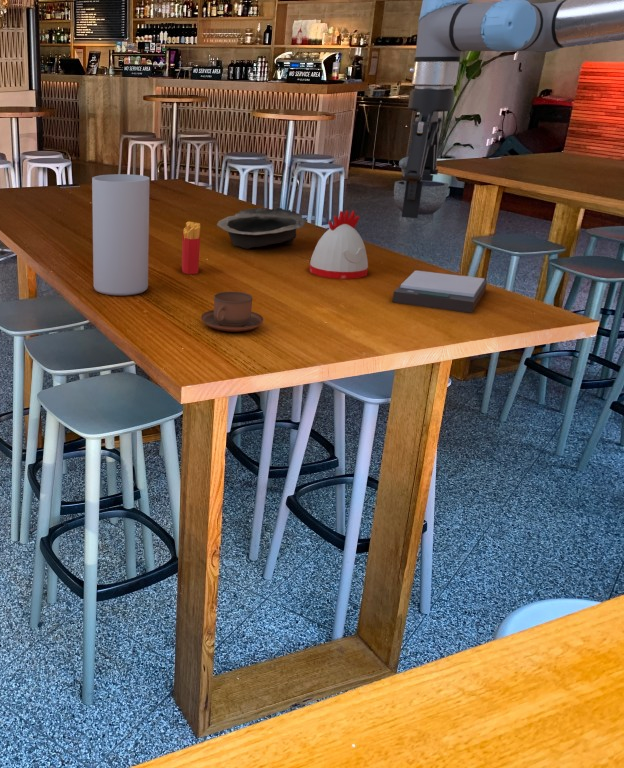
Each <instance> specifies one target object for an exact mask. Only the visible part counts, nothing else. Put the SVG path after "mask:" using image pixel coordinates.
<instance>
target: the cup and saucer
mask: <svg viewBox="0 0 624 768" xmlns="http://www.w3.org/2000/svg"><path fill="white" fill-rule="evenodd" d="M252 308H253V296H252V295H251V294H249V293H246V292H240V291H222V292H221V291H220V292H218V293H216V294H214V296H213V309H212V310H207V311H205V312H203V313H202V314H201V317H200V318H201V321H202V322H203V323H204V324H205V326H207V327H209V328H211V329H214V330H218V331H222V332H231V333H232V332H233V333H235V332H237V333H239V332H247V331H251V330H254V329H257V328H258V327H260V326H261V325H262V324H263V322H264V317H263V316H262V315H261V314H259V313H258V312H253V311H252Z"/></svg>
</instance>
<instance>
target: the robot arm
mask: <svg viewBox="0 0 624 768" xmlns="http://www.w3.org/2000/svg"><path fill="white" fill-rule="evenodd" d="M417 23H418V25H417V35H416V36H417V37H416V46H415V47H416V48H415V55H414V61H413V62H414V63H413V67H411V68H410V69H409V74H412V76H411V85H412V87H413V86H414V88H412V89H411V90H410V91H409V98H408V104H407V105H408V106H407V109H408V110H409V111H411V112H419V114H418V121H417V120H415V121H414V122H413V124H412V135H411V141H410V146H409V152H408V156H407V157H408V162H407V167H406V173H405V176H403V175H402V178H401V181H406V189H405V196H404V204H403V211H401V213H402V217H408V218H418V212H419V205H420V198H421V191H422V184H423V182H422V181H421V180H423V181H434V175H438V174H439V169H437V168H438V166H437V162H438V152H439V142H440V132H441V126H442V122H443V121H442V117H439V112H440V113H441V112H442V113H443V112H444V113H445V112H450V111H452V109H453V106H454V98H455V90H454V89H453V87H454V86H456V85H457V81H458V74H459V68H460V67H459V66H460V59H461V58H460V57H461V53H462V52H497V53H500V52H533V53H549V52H554V51H557V50H560V49H563V48H571V47H579V46H580V47H581V46H588V45H589V46H590V45H596V44H602V43H603V44H605V43H612V42H620V41H624V0H554V1H550V2H543V3H542V2H540V3H539V2H537V3H531V2H529V1H528V0H495V1H494V0H493V1H484V2H474V3H473V2H470V1H469V0H422V2H421V8H420V14H419V17H418V21H417Z"/></svg>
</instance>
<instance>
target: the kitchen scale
mask: <svg viewBox="0 0 624 768" xmlns="http://www.w3.org/2000/svg"><path fill="white" fill-rule="evenodd" d="M487 284H488V280H485V278H483V277H476V276H467V275H457V274H448V273H441V272H433V271H425V270H414V271H413V272H412V273H411V274H410V275H409V276H408V277H407V278H406V279H405V280H404V281H403V282H402V283H401V284H400V285H399V286H398V287H397V288H395V289H394V291H393V296H392V303H395V304H402V305H410V306H415V307H416V306H417V307H424V308H431V309H432V308H433V309H437V310H447V311H453V312H461V313H466V314H467V313H469V314H472V313H473V312H474V310H475V308H476V307H477V305H478V304H479V302H480V300H481V299H482V297H483V295H484V294H485V293H486V290H487Z"/></svg>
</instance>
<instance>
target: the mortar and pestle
mask: <svg viewBox="0 0 624 768" xmlns="http://www.w3.org/2000/svg"><path fill="white" fill-rule="evenodd" d="M407 162H408V156H405V157H402V158H401V159H400V160H399V162H398V166H399V168H401V173H402V176H405V173H406V167H407ZM421 181H422V182H423V184H422V191H421V198H420V205H419V212H418V218H408V217H402V211H403V204H404V196H405V189H406V181H402V180H398V181H397V180H395V182H394V186H393V199H394V202H395V206H396V207H397V208H398V209H399V211H400V212H401V213H400V217H399V222H404V223H411V224H431V223H434V214H435V213H437V212H438V211H439V210H440V209H441V207H442V206H443V204H444V203H445V202H446V198H447V195H448V192H449V183H447V182H442V181H435V180H433V181H423V180H421Z"/></svg>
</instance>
